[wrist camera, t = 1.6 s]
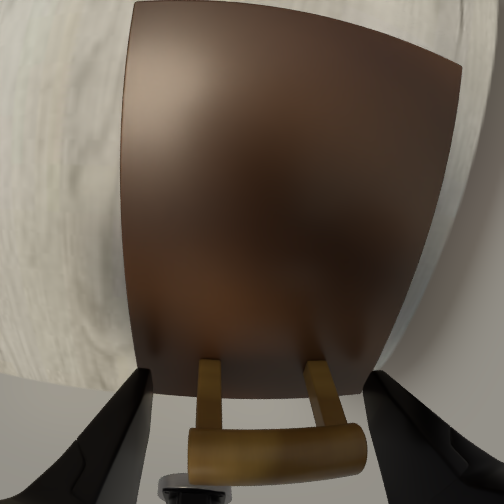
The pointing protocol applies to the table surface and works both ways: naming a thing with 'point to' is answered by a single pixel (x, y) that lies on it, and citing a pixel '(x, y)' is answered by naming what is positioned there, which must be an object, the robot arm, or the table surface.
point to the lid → (273, 217)
